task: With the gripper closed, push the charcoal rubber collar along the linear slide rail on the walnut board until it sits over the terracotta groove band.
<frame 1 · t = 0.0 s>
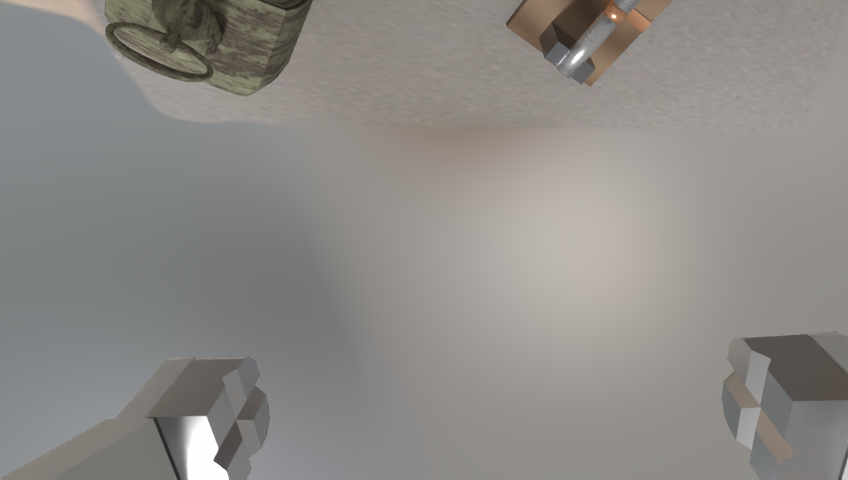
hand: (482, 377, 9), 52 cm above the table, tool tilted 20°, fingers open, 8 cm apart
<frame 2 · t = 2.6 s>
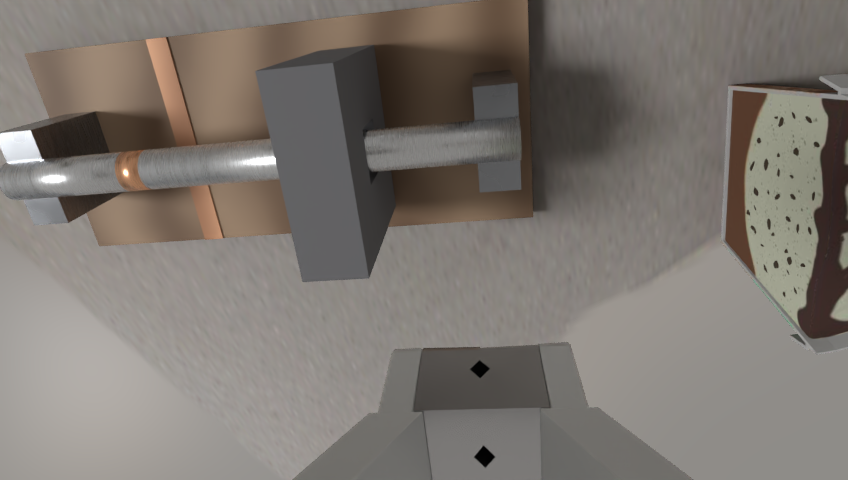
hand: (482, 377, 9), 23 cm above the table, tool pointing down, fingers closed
collar: (341, 153, 26), point 6 cm above the table, slide at 0.0 cm
board: (290, 133, 32), on the table
linear slide rail: (266, 150, 28), on the board, point 4 cm above the table
food container: (780, 159, 30), on the table
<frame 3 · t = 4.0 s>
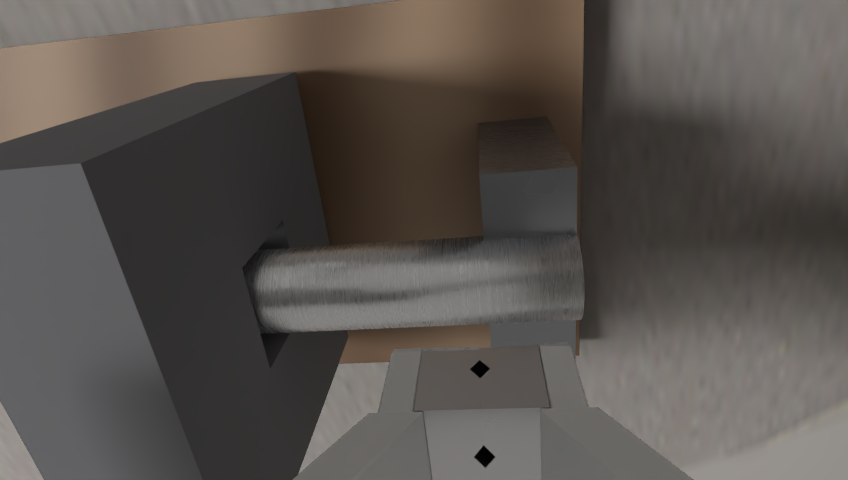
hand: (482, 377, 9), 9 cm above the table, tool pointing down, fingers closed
collar: (217, 293, 13), point 6 cm above the table, slide at 0.0 cm
board: (172, 214, 19), on the table
linear slide rail: (100, 266, 15), on the board, point 4 cm above the table
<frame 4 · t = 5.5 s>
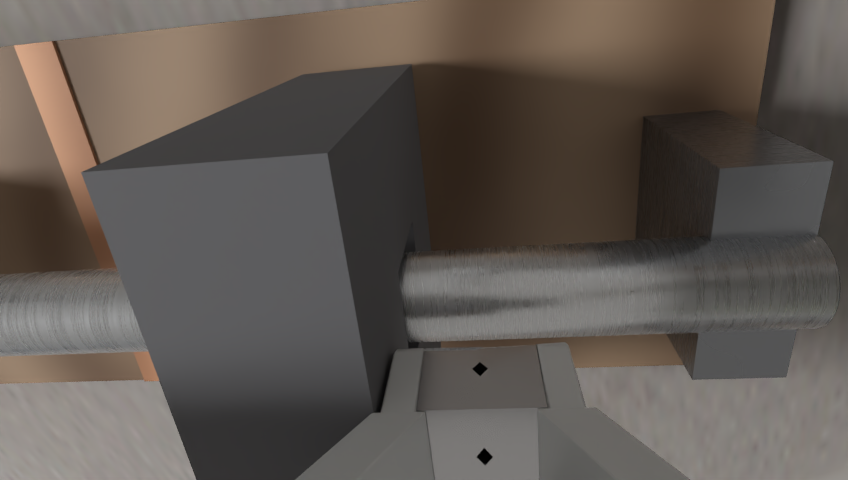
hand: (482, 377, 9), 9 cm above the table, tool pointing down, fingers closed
collar: (346, 299, 12), point 6 cm above the table, slide at 1.2 cm, touching gripper
board: (289, 212, 18), on the table
linear slide rail: (242, 266, 14), on the board, point 4 cm above the table
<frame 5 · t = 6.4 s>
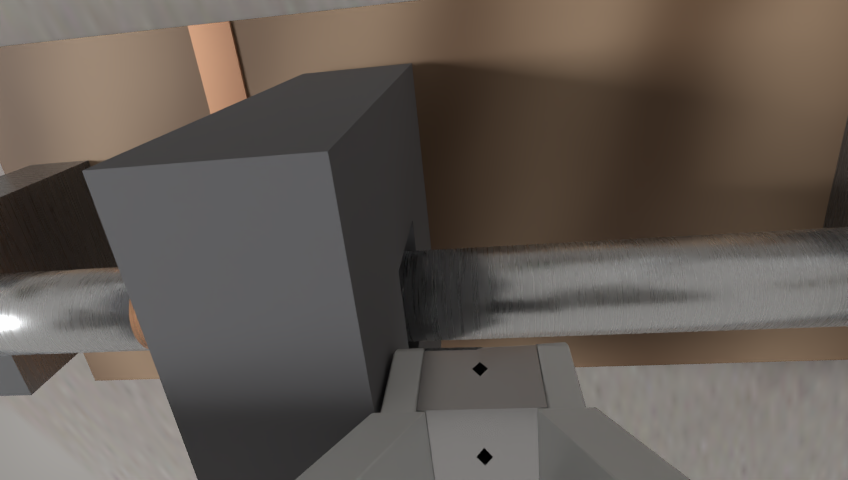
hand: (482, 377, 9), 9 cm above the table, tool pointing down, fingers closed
collar: (347, 298, 12), point 6 cm above the table, slide at 6.5 cm, touching gripper
board: (446, 201, 17), on the table
linear slide rail: (439, 255, 14), on the board, point 4 cm above the table
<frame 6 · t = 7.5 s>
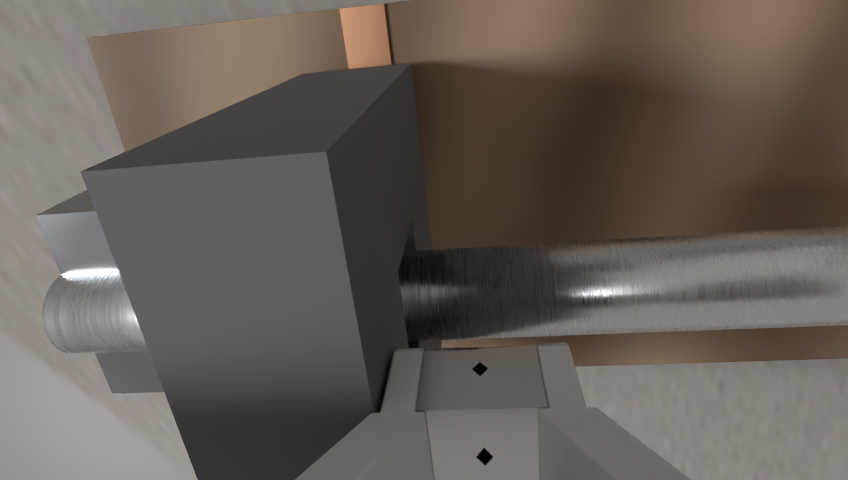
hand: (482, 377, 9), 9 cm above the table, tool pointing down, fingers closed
collar: (347, 298, 12), point 6 cm above the table, slide at 10.8 cm, touching gripper
board: (582, 191, 17), on the table
linear slide rail: (613, 245, 13), on the board, point 4 cm above the table
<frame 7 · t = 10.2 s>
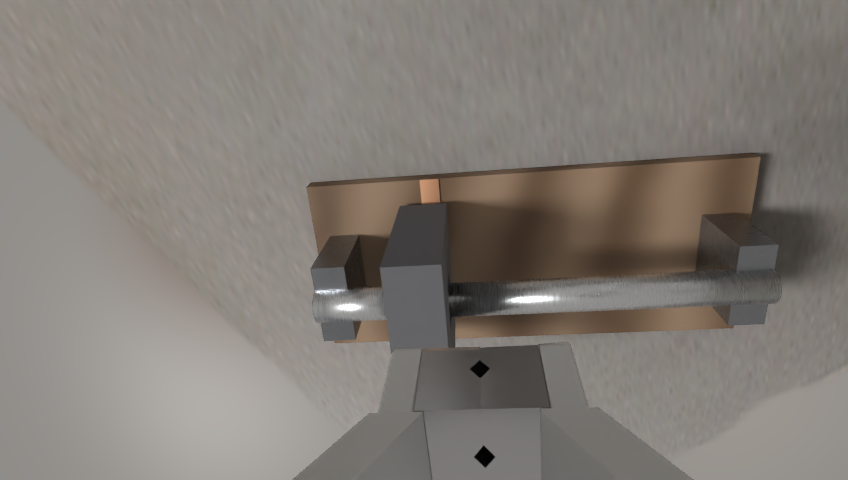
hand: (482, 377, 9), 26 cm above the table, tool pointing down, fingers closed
collar: (424, 301, 31), point 6 cm above the table, slide at 11.0 cm
board: (524, 253, 36), on the table
linear slide rail: (531, 280, 33), on the board, point 4 cm above the table
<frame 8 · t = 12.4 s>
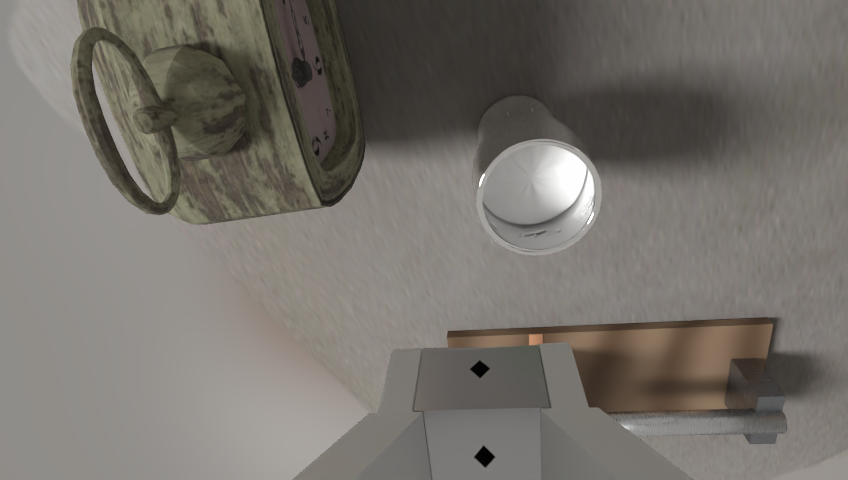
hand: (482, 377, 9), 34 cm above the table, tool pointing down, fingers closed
beer glass: (516, 133, 42), on the table
tabletop clock: (302, 62, 41), on the table
board: (600, 378, 50), on the table
linear slide rail: (610, 407, 47), on the board, point 4 cm above the table
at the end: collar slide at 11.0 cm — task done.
